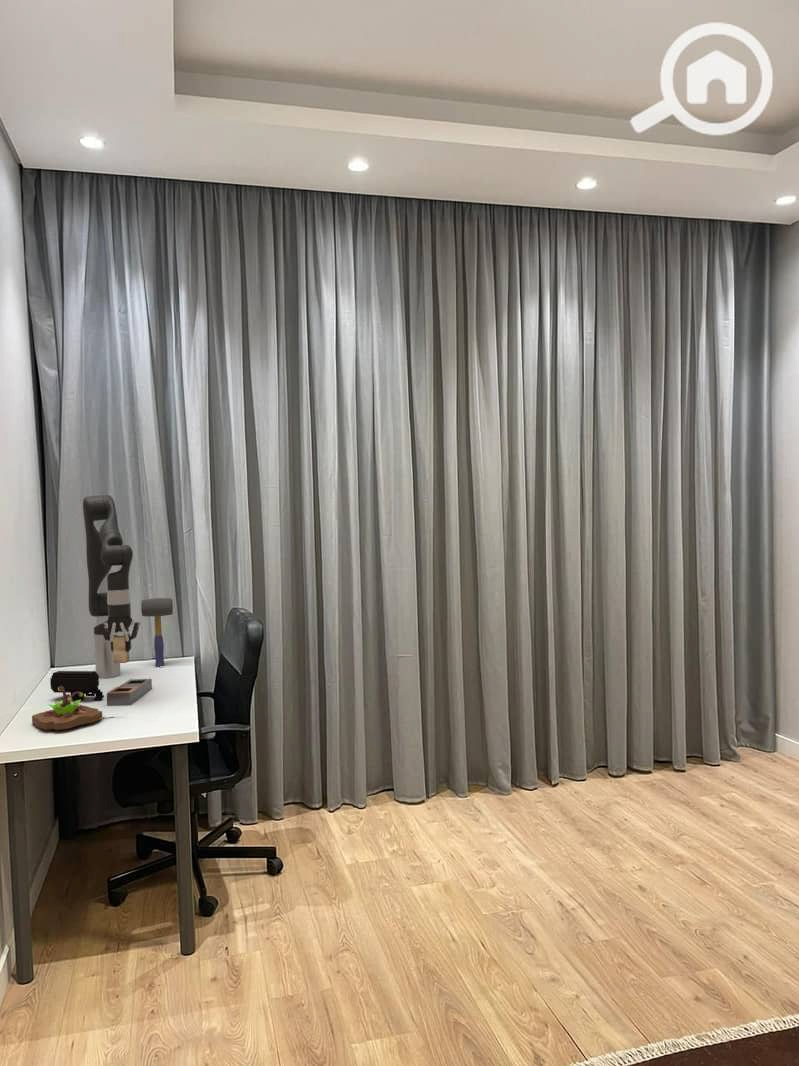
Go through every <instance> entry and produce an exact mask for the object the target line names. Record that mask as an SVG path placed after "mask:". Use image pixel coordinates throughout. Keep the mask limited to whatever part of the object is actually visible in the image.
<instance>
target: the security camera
mask: <svg viewBox="0 0 799 1066" xmlns="http://www.w3.org/2000/svg"><path fill="white" fill-rule="evenodd" d="M50 677H51V678H49V681H50V684H49V685H50V690H51V691H52V692H53V693H54V694H55V693H57V694H58V693H62V694H63V691H58V687H59V686H63V688H64V690H65V692H66V694H70V696H71V695H72V694H73V693H75V692H82V693H83V696H81V697H80V696H79V695H78V694H75V695H74V696H73V697H72V700H71V701H77V700H81V701H83V700H85V697H94V698H92V701H93V702H100V701H102V700H103V699H104V698H105V695H104V692H103V691H102V690H101V689H100V688H99V686H100V678H99V675H97V673H96V670H95V671H94V670H58V671H55V672H52V675H51V676H50Z"/></svg>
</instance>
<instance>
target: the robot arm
mask: <svg viewBox="0 0 799 1066" xmlns="http://www.w3.org/2000/svg"><path fill="white" fill-rule="evenodd" d="M116 508H117V507H116V503H115V501H114V499H113V497H112V496H111V495H109V494H102V495H101V494H100V495H90V496H85V497H84V498H83V499H82V512H83V513H82V514H83V520H84V530H85V544H86V545H85V546H86V549H85V550H86V565H87V577H88V578H87V579H88V611H89V615H90V616H91V617H94V618H95V617H96V618H97V617H107V619H106V621H104V622H102V623H100V624H98V625H96V626H94V627H93V639H94V640H93V641H94V643H93V644H94V662H95V663H94V665H95V671H96V673H97V675H99V679H113V678H117V676H118V677H120V676H121V673H122V672H121V663H114V653H113V637H115V636H120V634H119V633H122V634H123V635H122V636H125V640H126V642H125V643H126V652H129V653H130V650H132V640H134V639H136V638H137V637H138V632H139V629H140V625H141V622H140V621H135V620H133V619H132V611H131V609H132V608H131V593H130V584H129V583H130V582H129V581H130V580H129V578H130V577H129V576H130V570H131V565H132V561H133V557H134V553H133V549H132V547H131V546H130V545H128V544H124V542H123V541H124V540H123V538H122V535H121V532H120V529H119V524H118V523H119V522H118V516H117V509H116ZM98 521H104V522H103V523H102V525H101V526H100V529H99V531H98V529H97V528H96V525H95V523H94V522H98ZM113 566H115V567H116V566H121V567H120V569H119V570H117V571H113V572H111V569H112V567H113ZM109 572H111V573H109ZM105 578H106V579H107V580H106V581H107V585H106V586H107V592H98V590H99V589H100V586H101V585H102V582H103V581H104V579H105ZM130 627H132V632H131V631H130Z"/></svg>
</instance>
